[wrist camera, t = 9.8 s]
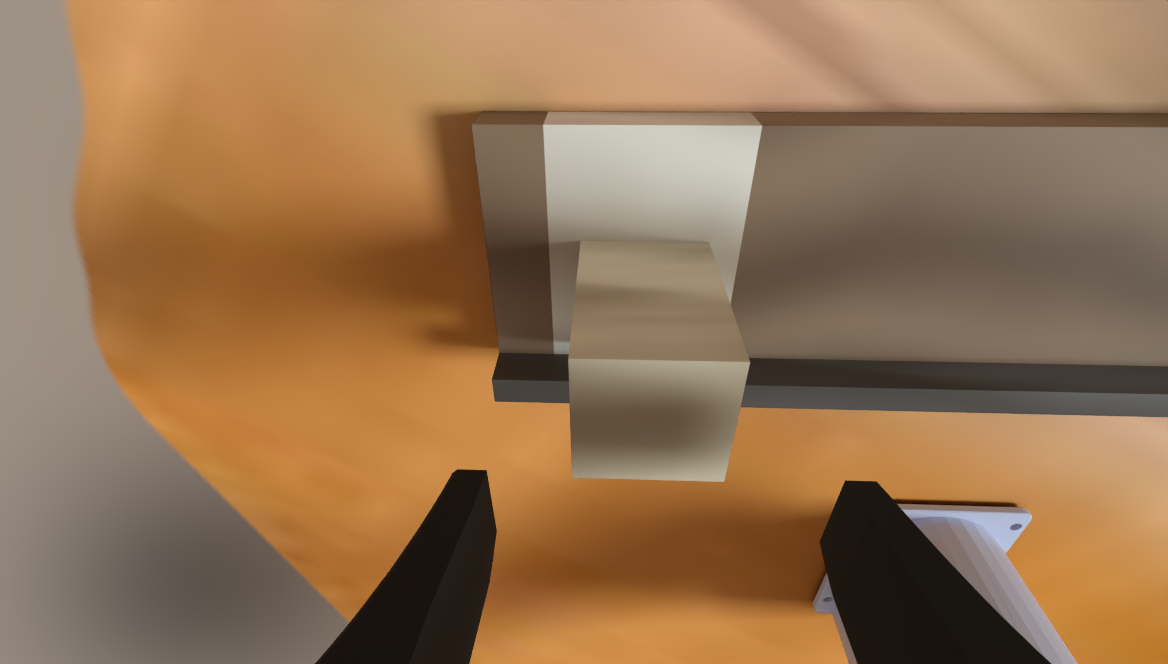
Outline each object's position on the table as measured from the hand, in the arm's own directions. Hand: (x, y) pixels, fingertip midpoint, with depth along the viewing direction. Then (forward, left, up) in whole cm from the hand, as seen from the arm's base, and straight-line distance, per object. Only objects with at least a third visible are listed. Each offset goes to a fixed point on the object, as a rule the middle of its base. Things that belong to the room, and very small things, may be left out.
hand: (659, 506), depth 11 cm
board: (+1, -8, -10) cm, 13 cm away
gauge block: (0, 0, -8) cm, 8 cm away
